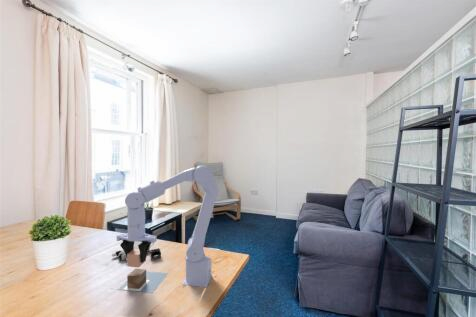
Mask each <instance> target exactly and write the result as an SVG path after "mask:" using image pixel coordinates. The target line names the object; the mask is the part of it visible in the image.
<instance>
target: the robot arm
mask: <svg viewBox="0 0 476 317" xmlns="http://www.w3.org/2000/svg"><path fill="white" fill-rule="evenodd" d="M194 181H195V182H196V183H197V184H198V185H200V186H201V188H202V189H203V191H204V195H203V198H202V202H201V206H200V209H199V212H198V216H197V218H196V219H197V220H196V223H195V226H194V229H193V232H192V235H191V237H189V239H188V241H187V250H186V254H185V278H184V279H183V281H182V283H181V285H184V286H194V287H202V288H203V287H204V288H207V287H208V285H209V283H210V281H211V278H212V276H213V275H212V258H211V257H209V256H206V254H205V249H204V246H205V240H206V235H207V232H208V228H209V224H210V221H211V217H212V214H213V211H214V207H215V204H216V200H217V196H218V193H219V188H218V185H217V181H216V179H215V176H214V173H213V172H212V171H211V169H210V168H209V167H208V166H206V165H205V164H200V165H198V166H196V167H191V168H189V169H186V170H183V171H181V172H180V173H177V174H176V175H173V176H172V177H169V178H167V179H164V180H163V181H161V180H154V179H153V180H151V181H149V183H148V184H146V185H145V186H143V187H141V186H138V188H137V189H136V190H133V191H132V192H129V194H127V195H126V196H125V199H124V204H125V205H126V207H127V233H119V234H117V235H116V241H117V242H120V241H121V243H120V244H119V245H120V248H121V250H124V252H125V254H126V257H127V254H128V253H129V252H131V251H132V250H133V248H134V242H135V241H139V242H142V243H141V244H139V245H138V247H139V250H140V261H141V263H143V262H144V261H145V260H146V261H147V255H148V252H149V250H150V249H149V247H150V246H151V245H152V244H153V243H154V244H155V243H156V242H157V237H158V236H157V235H152V234H149V233H146V210H145V204H146V203H149V202H151V201H153V200H155V199H158V198H159V197H161V196H163V195H165V192H166V190H168V189H170V188H173V187H175V186H177V185H179V184H181V183H184V182H189V183H190V182H191V183H193V182H194ZM150 248H151V247H150ZM148 249H149V250H148ZM146 261H145V262H146ZM145 262H144V263H145ZM144 263H143V264H144Z"/></svg>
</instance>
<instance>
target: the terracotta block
mask: <svg viewBox="0 0 476 317" xmlns="http://www.w3.org/2000/svg"><path fill="white" fill-rule="evenodd" d="M145 262H147V259H146V260H145V261H144V262H143V263H141V261H140V250H139V249H137V248H135V249H133V250H132V251H131V252H129V253H128V254H127V261H126V267H128V268H140V267H142V265H143V264H145Z"/></svg>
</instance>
